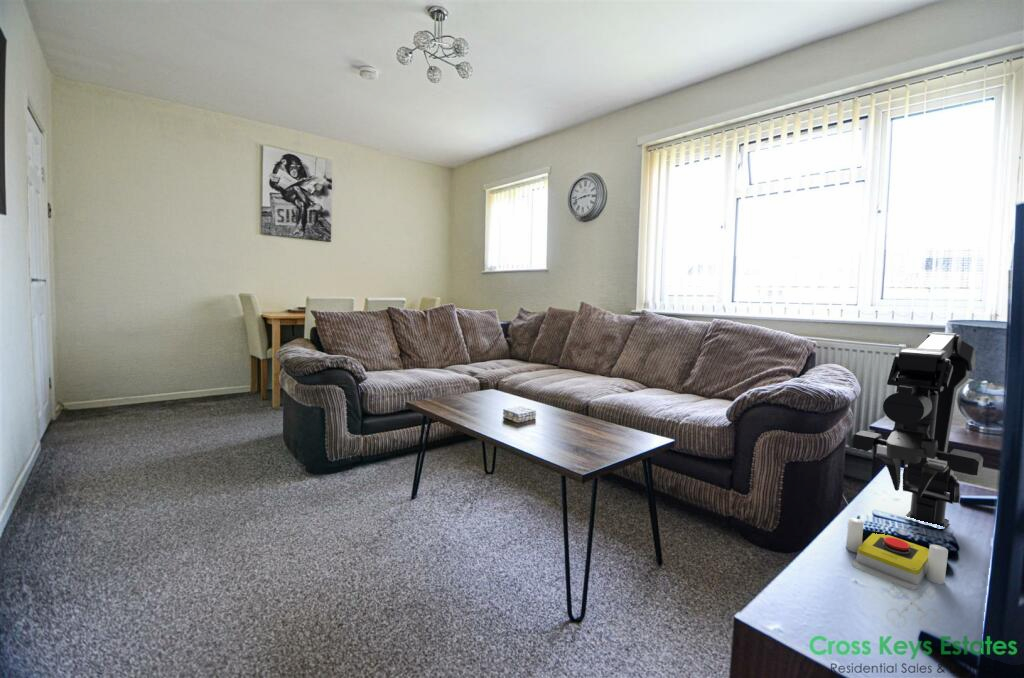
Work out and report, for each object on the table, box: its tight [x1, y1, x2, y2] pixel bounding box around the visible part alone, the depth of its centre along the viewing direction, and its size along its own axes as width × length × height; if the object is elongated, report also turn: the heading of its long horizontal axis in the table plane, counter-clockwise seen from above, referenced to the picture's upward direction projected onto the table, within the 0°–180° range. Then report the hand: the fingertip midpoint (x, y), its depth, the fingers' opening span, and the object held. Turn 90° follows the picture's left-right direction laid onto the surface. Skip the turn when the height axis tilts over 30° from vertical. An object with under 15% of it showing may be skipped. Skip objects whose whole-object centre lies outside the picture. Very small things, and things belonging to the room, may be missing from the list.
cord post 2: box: [925, 544, 949, 585], centre depth 81 cm, size 2×2×6 cm
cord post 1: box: [845, 517, 865, 554], centre depth 91 cm, size 2×2×6 cm
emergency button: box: [851, 532, 929, 591], centre depth 86 cm, size 9×4×15 cm
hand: (908, 493), depth 89 cm, fingers open, 3 cm apart
